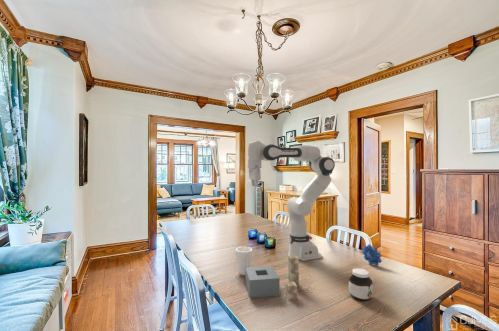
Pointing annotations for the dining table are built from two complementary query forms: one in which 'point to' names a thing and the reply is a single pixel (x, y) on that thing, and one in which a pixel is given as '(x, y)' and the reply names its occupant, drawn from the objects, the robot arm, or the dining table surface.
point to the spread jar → (360, 285)
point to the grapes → (371, 255)
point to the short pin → (291, 290)
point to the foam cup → (243, 258)
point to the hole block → (262, 281)
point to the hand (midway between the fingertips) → (254, 186)
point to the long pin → (293, 269)
